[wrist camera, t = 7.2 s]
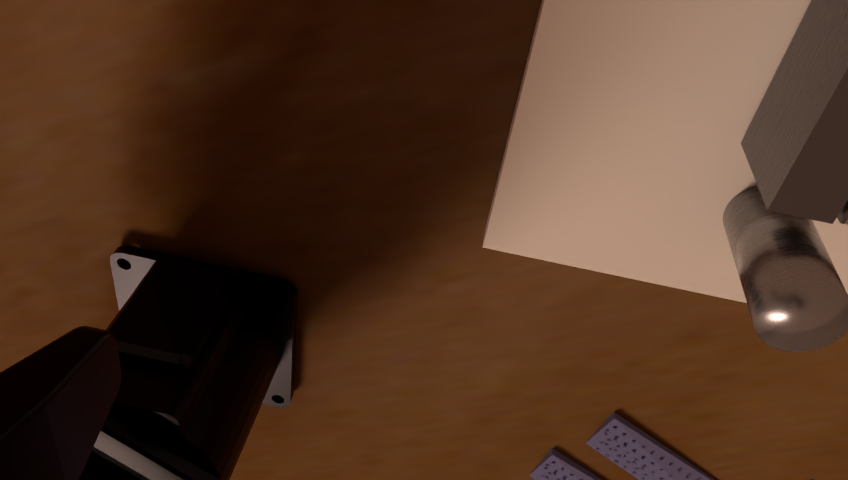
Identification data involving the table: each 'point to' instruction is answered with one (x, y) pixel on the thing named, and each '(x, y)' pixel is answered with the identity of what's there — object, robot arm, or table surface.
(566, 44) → the cutting board
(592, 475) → the pair of lilac bars
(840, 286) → the tongs fixed arm
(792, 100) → the tongs moving arm
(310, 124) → the table surface
